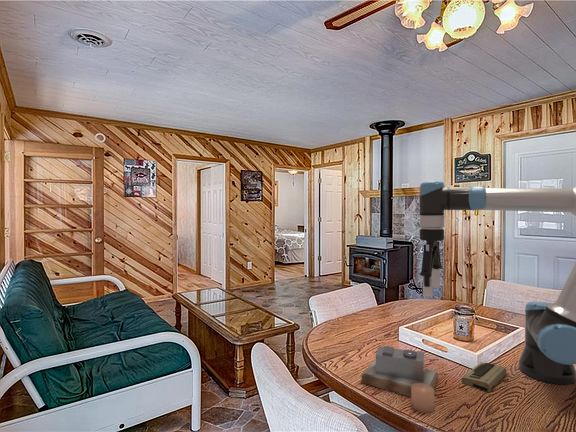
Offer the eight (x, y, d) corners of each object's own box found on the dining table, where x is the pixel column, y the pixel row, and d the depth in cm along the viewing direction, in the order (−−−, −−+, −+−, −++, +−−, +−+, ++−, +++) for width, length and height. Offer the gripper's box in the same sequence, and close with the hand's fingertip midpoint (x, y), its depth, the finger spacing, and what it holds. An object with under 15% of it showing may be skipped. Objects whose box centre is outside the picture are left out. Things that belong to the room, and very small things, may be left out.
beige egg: (436, 404, 97) (436, 386, 97) (431, 415, 92) (432, 396, 92) (414, 398, 100) (414, 381, 100) (408, 408, 95) (408, 390, 95)
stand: (438, 380, 110) (438, 371, 109) (428, 401, 98) (428, 391, 98) (376, 365, 121) (376, 356, 120) (361, 382, 109) (361, 373, 109)
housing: (375, 373, 108) (375, 352, 108) (378, 364, 115) (378, 343, 115) (423, 381, 103) (423, 359, 103) (423, 371, 110) (423, 350, 109)
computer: (479, 367, 119) (479, 358, 119) (506, 376, 113) (506, 366, 113) (461, 384, 108) (461, 373, 108) (489, 394, 102) (489, 383, 102)
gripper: (427, 225, 127) (427, 283, 128) (410, 230, 106) (410, 298, 107) (450, 226, 123) (450, 285, 124) (436, 231, 102) (436, 302, 103)
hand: (431, 291), depth 115 cm, fingers open, 13 cm apart
